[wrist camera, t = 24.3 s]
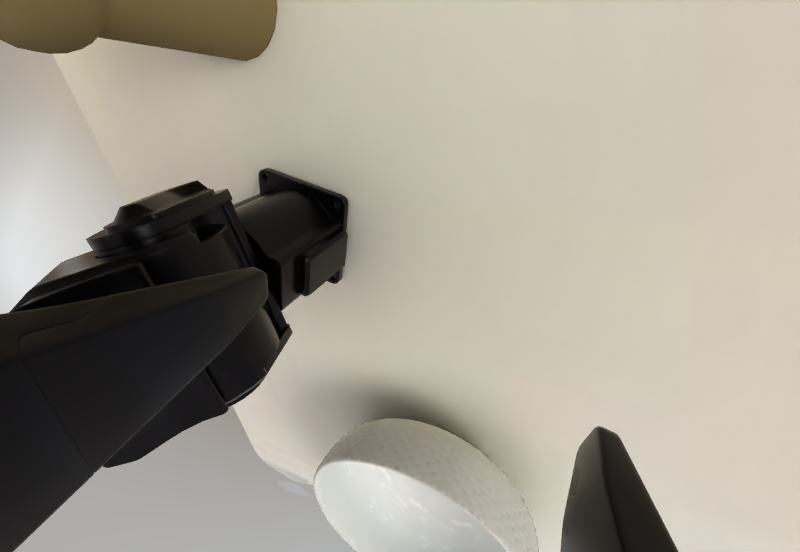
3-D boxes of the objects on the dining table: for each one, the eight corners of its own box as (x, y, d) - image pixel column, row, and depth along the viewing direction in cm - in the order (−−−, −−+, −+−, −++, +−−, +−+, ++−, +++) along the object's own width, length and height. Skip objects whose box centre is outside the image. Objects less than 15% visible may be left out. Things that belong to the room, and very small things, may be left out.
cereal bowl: (338, 366, 31) (282, 434, 26) (549, 410, 24) (534, 518, 18) (377, 491, 39) (341, 564, 33) (547, 554, 31) (536, 661, 26)
